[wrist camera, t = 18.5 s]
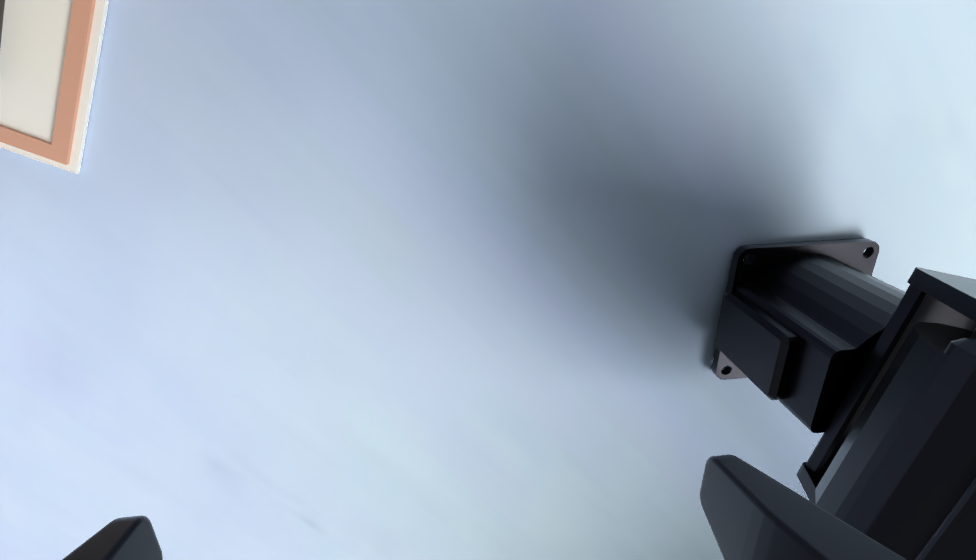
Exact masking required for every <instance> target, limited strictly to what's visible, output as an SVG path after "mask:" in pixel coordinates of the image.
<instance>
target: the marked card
mask: <svg viewBox="0 0 976 560" xmlns="http://www.w3.org/2000/svg"><path fill="white" fill-rule="evenodd" d="M108 5H109V0H5V5H4V16H3V26H2V36H1V47H0V147H1V148H4V149H6V150H9V151H12V152H15V153H18V154H21V155H24V156H27V157H29V158H32V159H35V160H38V161H41V162H44V163H47V164H50V165H52V166H55V167H58V168H61V169H64V170H67V171H70V172H73V173H75V174H77V173H80V169H81V163H82V157H83V151H84V145H85V139H86V134H87V128H88V122H89V116H90V110H91V104H92V99H93V93H94V87H95V81H96V75H97V69H98V63H99V58H100V52H101V46H102V40H103V34H104V28H105V23H106V17H107V11H108Z"/></svg>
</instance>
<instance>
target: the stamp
mask: <svg viewBox="0 0 976 560" xmlns="http://www.w3.org/2000/svg"><path fill="white" fill-rule="evenodd" d="M4 5H5V0H0V47H1V36H2V26H3V16H4Z"/></svg>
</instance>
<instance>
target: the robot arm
mask: <svg viewBox="0 0 976 560" xmlns="http://www.w3.org/2000/svg"><path fill="white" fill-rule="evenodd" d="M865 249H866V251H865V252H864V253H863V251H864V250H865ZM878 253H879V245H878V244H877V243H876V242H874V241H871V240H869V239H847V240H829V241H811V242H794V243H776V244H758V245H744V246H741V247H739V248H738V249H737V250H736V251H735V252H734V254H733V257H732V262H731V267H730V273H729V278H728V283H727V289H726V294H725V296H724V298H723V302H722V307H721V312H720V318H719V323H718V329H717V334H716V339H715V346H716V347H715V352H714V358H713V363H712V371H713V373H714V374H715V375H716V376H717V377H718V378H720V379H724V380H725V379H737V378H749V379H750V380H751V381H752V382H753V383H754V384H755V385H756V386H757V387H758V388H759V389H760V390H761V391H762V392H763V393H764V394H765V395H766V396H767V397H768V398H770V399H771V400H779V401H780V402H781V403H782V404H783V405H784V406H785V407H786V408H787V409H788V410H790V411H791V412H792V413H793V414H794V415H795V416H796V417H797V418H798V419H799V420H800V421H801V422H802V423H803V424H804V425H805V426H806V427H808V428H809V429H810V430H811V431H812V432H813V433H822V432H824V434H823V435H822V437H821V439H820V441H819V442H818V444H817V446H816V448H815V449H814V451H813V453H812V454H811V456H810V458H809V460H808V461H807V462H804V463H803V464H802V466H801V467H800V469H799V471H798V473H797V476H798V478H799V480H800V482H801V484H802V486H803V488H804V490H805V492H806V494H807V496H808V498H809V500H810V501H809V500H807V499H806V498H804V497H802V496H801V495H799V494H797V493H796V492H794V491H792V490H791V489H789V488H787V487H786V486H784V485H782V484H781V483H779V482H777V481H776V480H774V479H772V478H771V477H769V476H768V475H766V474H764V473H763V472H761V471H759V470H758V469H756V468H754V467H753V466H751V465H749V464H748V463H746V462H744V461H743V460H741V459H739V458H738V457H736V456H733V455H721V456H712V457H710V458H709V459H708V460H707V462H706V465H705V470H704V475H703V480H702V485H701V490H700V499H701V504H702V507H703V510H704V512H705V514H706V517H707V519H708V522H709V524H710V526H711V529H712V531H713V533H714V536H715V538H716V541H717V543H718V545H719V548H720V550H721V552H722V555H723V557H724V559H725V560H976V280H975V279H970V278H965V277H961V276H956V275H951V274H946V273H942V272H937V271H932V270H928V269H923V268H918V267H916V268H915V270H914V272H913V273H912V275H911V277H910V278H909V280H908V283H909V284H910V286H909V287H908V289H907V291H906V292H904V291H902V290H900V289H898V288H896V287H894V286H891V285H889V284H887V283H885V282H883V281H881V280H879V279H877V278H875V277H873V276H872V272H873V269H874V266H875V263H876V259H877V256H878ZM748 254H749V257H748V259H747V260H746V261H744V262H743V259H744V257H745V256H746V255H748ZM725 366H727V367H726V368H725V369H724V370H722V368H724V367H725ZM162 559H163V558H162V551H161V548H160V546H159V543H158V540H157V538H156V535H155V532H154V530H153V527H152V524H151V522H150V520H149V519H148V518H147V517H145V516H133V517H124V518H118V519H115V520H113V521H112V522H110V523H109V524H108V525H106V526H105V527H104V528H102V529H101V530H100V531H99V532H97V533H96V534H95V535H93V536H92V537H91V538H90V539H88V540H87V541H86V542H84V543H83V544H82V545H81V546H79V547H78V548H77V549H75V550H74V551H73V552H72V553H70V554H69V555H68V556H66V557H65V558H64V559H63V560H162Z"/></svg>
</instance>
